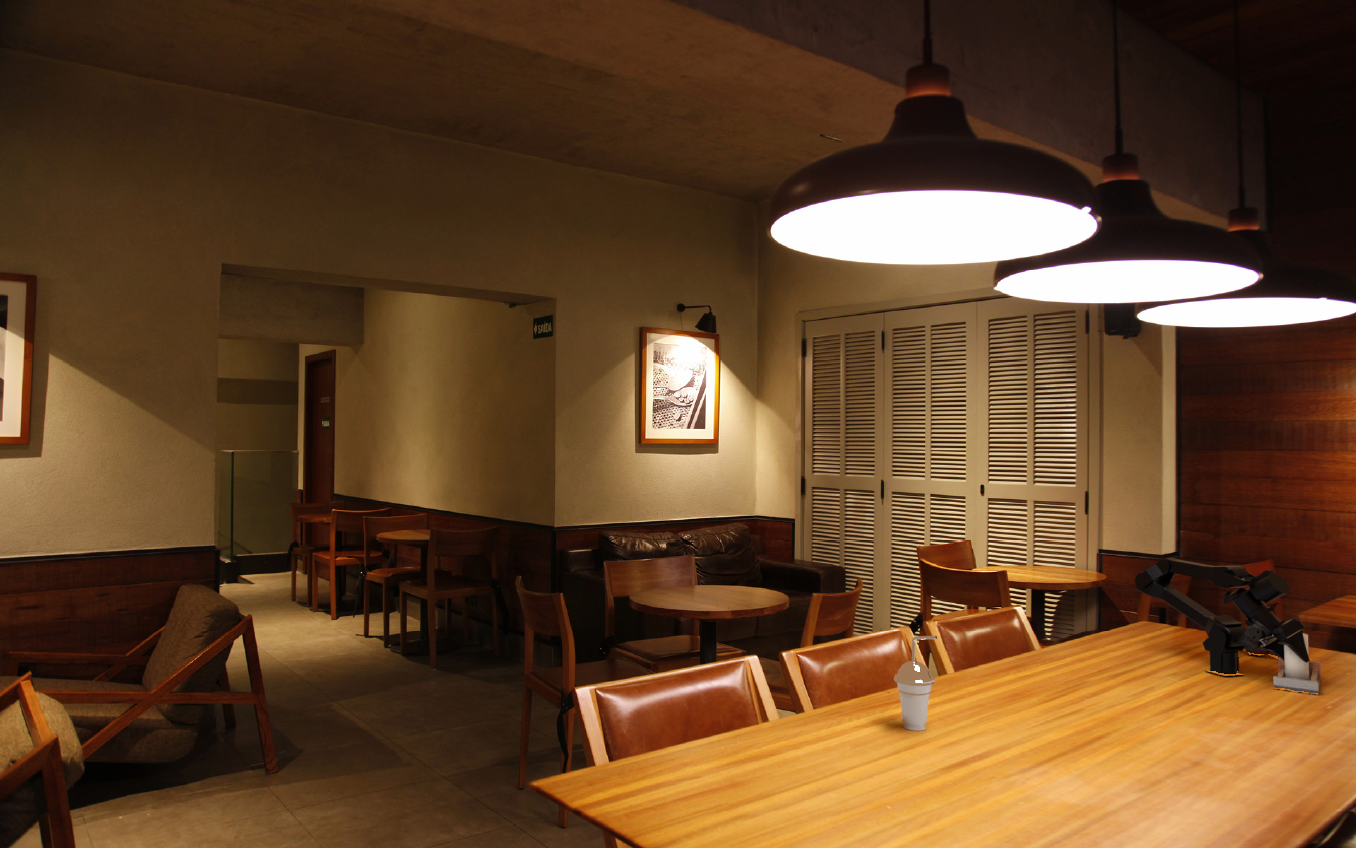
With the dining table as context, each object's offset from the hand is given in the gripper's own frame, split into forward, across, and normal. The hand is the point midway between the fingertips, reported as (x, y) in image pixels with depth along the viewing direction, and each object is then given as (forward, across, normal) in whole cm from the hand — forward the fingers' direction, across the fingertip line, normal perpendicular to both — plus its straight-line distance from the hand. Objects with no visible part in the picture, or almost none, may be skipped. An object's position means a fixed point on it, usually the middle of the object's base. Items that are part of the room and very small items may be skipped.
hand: (1300, 663), depth 218 cm
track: (+4, -5, -2) cm, 7 cm away
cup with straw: (-32, +50, -96) cm, 113 cm away
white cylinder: (+3, -2, -3) cm, 5 cm away
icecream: (-3, -38, +8) cm, 38 cm away
